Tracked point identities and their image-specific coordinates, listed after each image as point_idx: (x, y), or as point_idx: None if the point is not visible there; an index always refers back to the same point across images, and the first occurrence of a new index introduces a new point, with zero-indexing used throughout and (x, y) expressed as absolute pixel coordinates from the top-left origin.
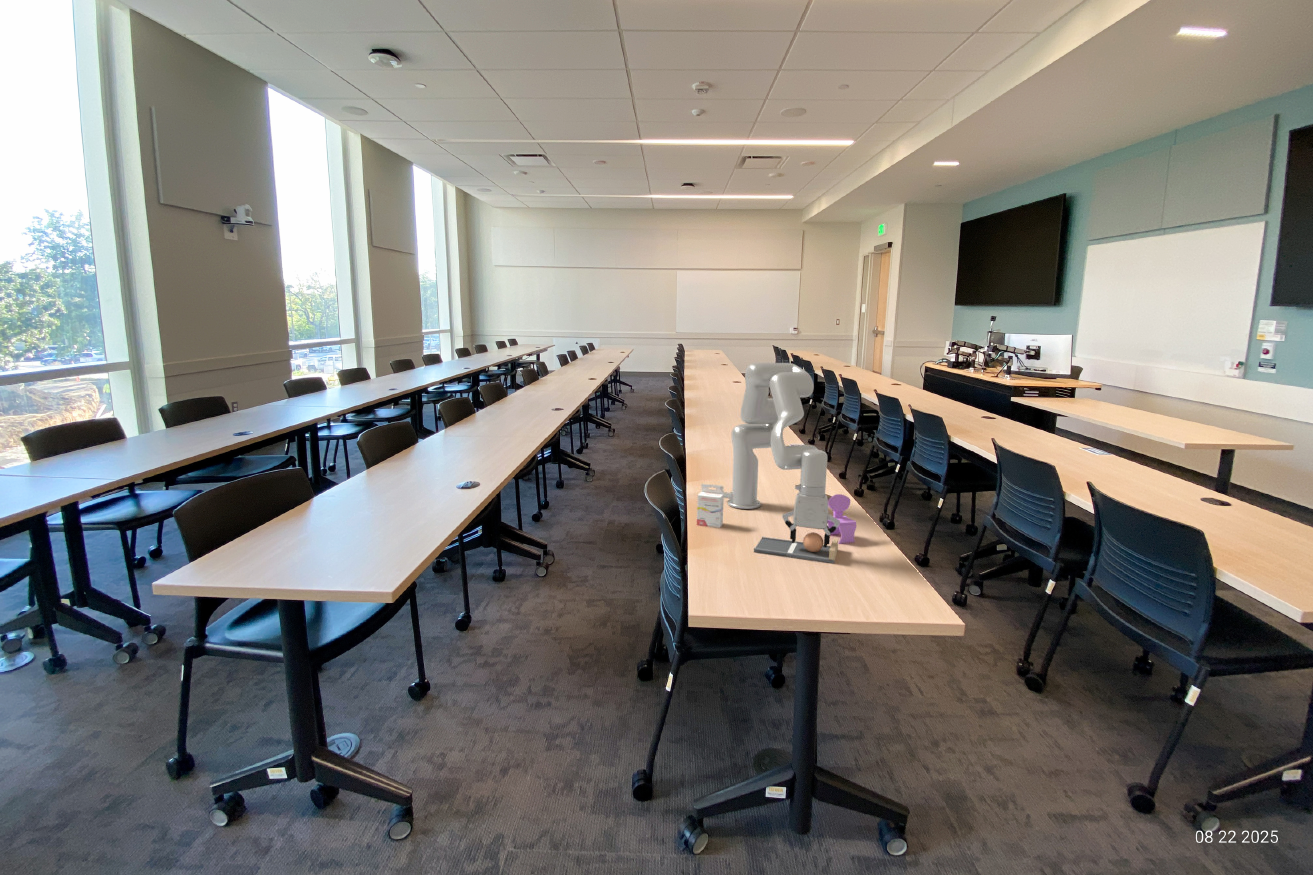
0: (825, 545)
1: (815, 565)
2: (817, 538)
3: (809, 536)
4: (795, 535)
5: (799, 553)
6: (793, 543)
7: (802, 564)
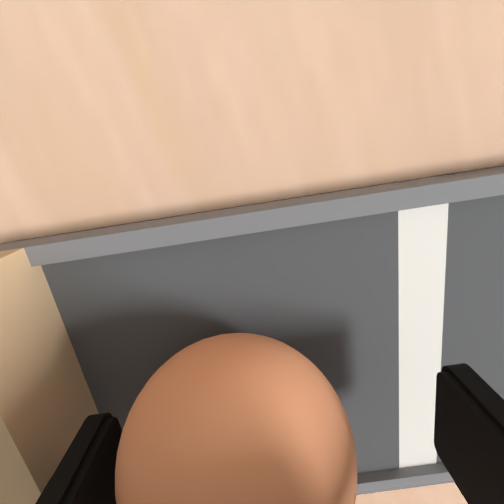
0: (85, 430)
1: (118, 100)
2: (149, 482)
3: (276, 483)
4: (477, 488)
5: (332, 270)
6: (425, 450)
7: (239, 51)
